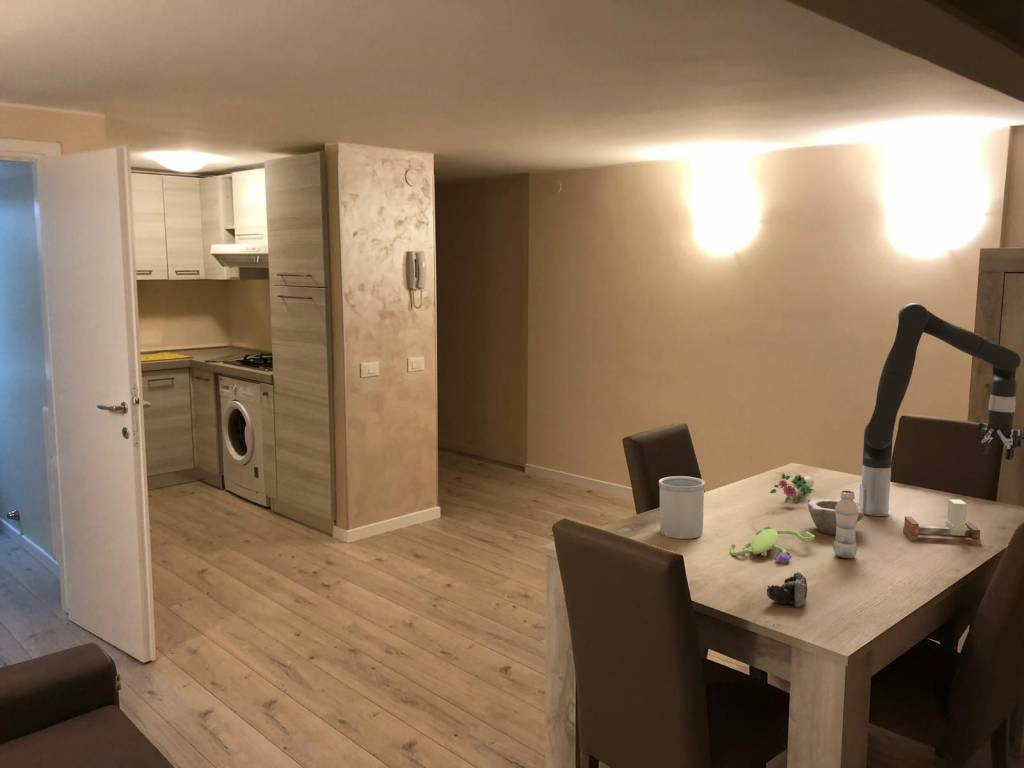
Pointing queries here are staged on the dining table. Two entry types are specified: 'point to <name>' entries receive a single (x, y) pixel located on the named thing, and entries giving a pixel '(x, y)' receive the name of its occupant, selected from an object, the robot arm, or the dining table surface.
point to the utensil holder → (681, 507)
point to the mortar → (827, 514)
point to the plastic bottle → (846, 526)
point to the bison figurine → (790, 591)
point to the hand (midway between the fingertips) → (996, 456)
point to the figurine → (770, 543)
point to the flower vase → (798, 483)
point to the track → (949, 537)
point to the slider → (956, 517)
